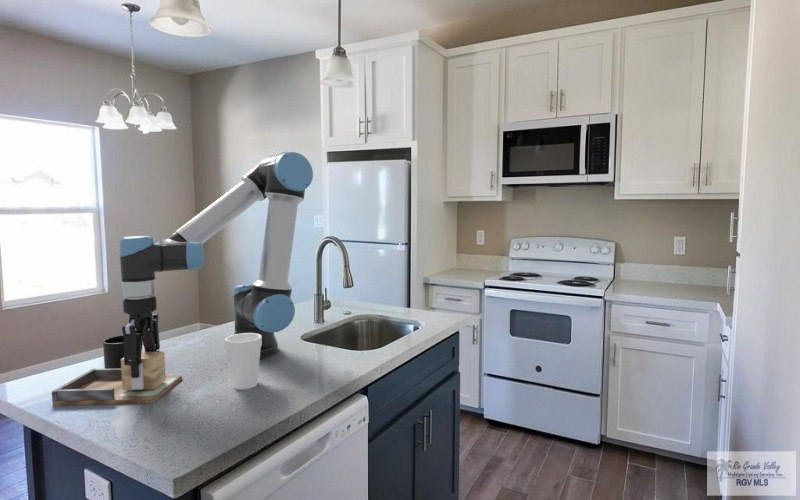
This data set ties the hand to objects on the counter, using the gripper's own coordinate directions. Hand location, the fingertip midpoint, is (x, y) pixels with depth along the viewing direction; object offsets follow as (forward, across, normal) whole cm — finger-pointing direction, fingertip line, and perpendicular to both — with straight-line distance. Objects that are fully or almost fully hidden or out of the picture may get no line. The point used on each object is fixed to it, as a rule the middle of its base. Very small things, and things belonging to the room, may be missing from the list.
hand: (144, 383), depth 120 cm
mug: (+2, -17, -14) cm, 22 cm away
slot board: (+2, 0, -6) cm, 6 cm away
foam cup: (+2, -2, +25) cm, 25 cm away
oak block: (0, 0, 0) cm, 0 cm away
